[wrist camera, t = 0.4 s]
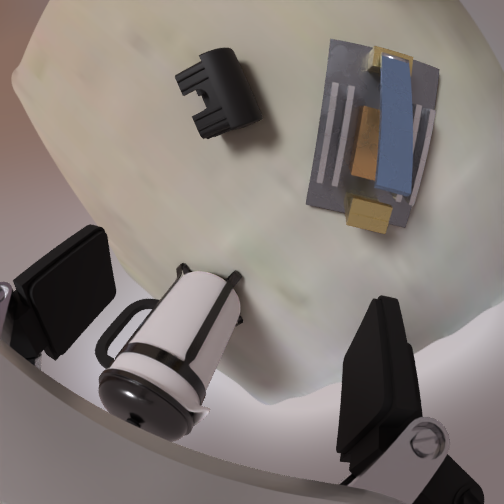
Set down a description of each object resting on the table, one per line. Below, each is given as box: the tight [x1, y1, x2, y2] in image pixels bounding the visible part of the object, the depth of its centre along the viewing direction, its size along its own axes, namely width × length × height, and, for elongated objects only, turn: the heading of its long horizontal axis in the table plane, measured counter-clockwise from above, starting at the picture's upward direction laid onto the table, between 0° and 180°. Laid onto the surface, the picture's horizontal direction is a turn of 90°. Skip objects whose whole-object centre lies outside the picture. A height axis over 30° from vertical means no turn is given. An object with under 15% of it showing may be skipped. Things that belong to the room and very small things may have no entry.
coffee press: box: [95, 263, 243, 442], centre depth 38 cm, size 17×16×30 cm
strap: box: [374, 52, 413, 197], centre depth 22 cm, size 16×3×1 cm
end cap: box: [175, 48, 263, 139], centre depth 32 cm, size 10×7×7 cm
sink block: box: [306, 39, 439, 234], centre depth 28 cm, size 22×14×9 cm, turn 174°
